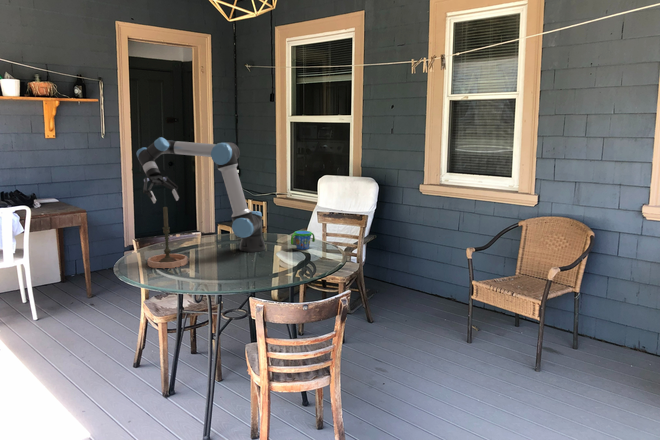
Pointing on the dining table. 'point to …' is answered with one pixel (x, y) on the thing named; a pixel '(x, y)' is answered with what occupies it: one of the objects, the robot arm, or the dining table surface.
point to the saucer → (155, 263)
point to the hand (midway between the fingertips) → (166, 200)
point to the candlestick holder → (166, 238)
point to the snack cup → (302, 239)
